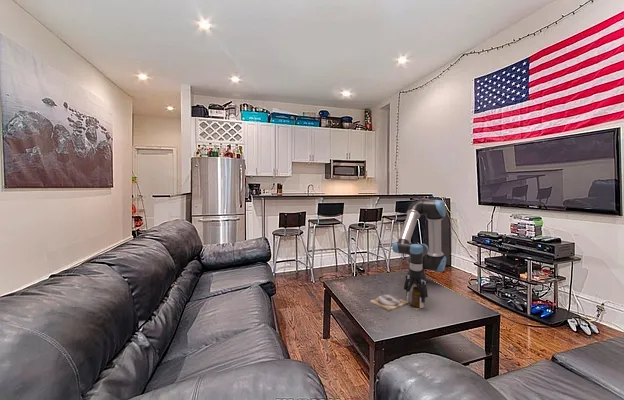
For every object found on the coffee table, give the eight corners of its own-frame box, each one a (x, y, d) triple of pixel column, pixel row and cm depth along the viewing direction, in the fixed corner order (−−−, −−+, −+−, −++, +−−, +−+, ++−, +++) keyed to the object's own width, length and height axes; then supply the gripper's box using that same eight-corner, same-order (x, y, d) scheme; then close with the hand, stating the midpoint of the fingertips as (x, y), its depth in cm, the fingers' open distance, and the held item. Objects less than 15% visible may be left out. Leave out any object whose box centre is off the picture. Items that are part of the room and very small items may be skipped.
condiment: (425, 306, 177) (425, 288, 176) (416, 310, 172) (416, 291, 171) (415, 302, 183) (415, 284, 182) (406, 306, 178) (406, 287, 177)
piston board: (389, 295, 194) (389, 291, 194) (408, 303, 181) (408, 299, 181) (370, 302, 185) (370, 298, 184) (388, 311, 171) (388, 307, 171)
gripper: (398, 265, 183) (397, 299, 185) (427, 275, 165) (426, 312, 167) (405, 263, 187) (405, 296, 189) (435, 273, 169) (434, 309, 171)
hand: (415, 304), depth 178 cm, fingers open, 9 cm apart
